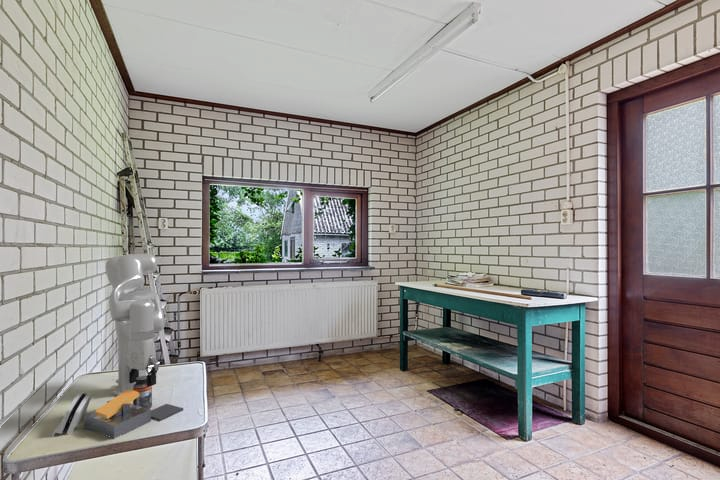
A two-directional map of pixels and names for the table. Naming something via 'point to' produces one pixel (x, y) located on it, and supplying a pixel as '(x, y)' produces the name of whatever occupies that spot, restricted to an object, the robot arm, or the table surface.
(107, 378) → the table surface
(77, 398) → the grey curved arch
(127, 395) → the rocker
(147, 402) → the supplement bottle
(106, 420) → the grey seesaw base
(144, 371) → the robot arm
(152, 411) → the rubber mat
